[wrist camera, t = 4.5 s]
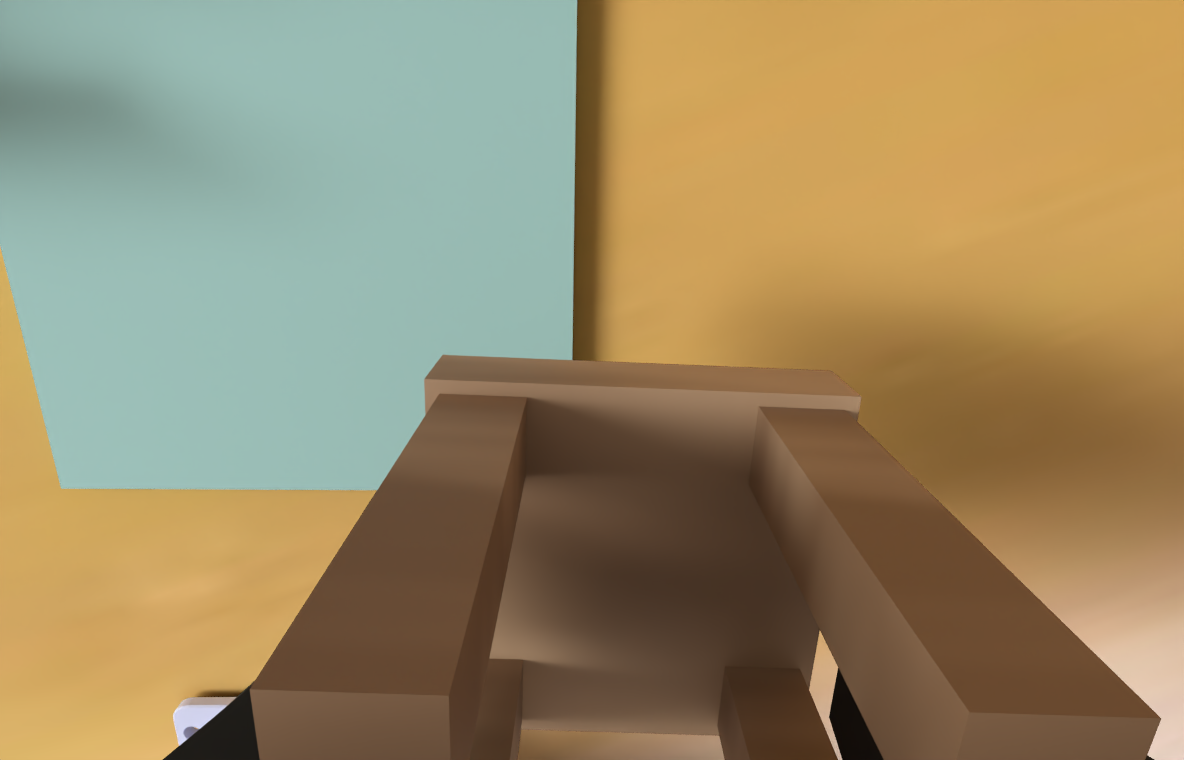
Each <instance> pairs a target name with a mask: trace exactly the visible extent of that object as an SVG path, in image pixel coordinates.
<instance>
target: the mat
mask: <svg viewBox="0 0 1184 760" xmlns="http://www.w3.org/2000/svg"><path fill="white" fill-rule="evenodd" d="M576 48H577V0H0V247H1V251H2V255H3V259H4V263H5V267H6V271H7V275H8V279H9V283H10V286H11V290H12V294H13V298H14V302H15V306H16V310H17V314H18V318H19V322H20V326H21V330H22V334H23V338H24V342H25V346H26V350H27V354H28V358H29V362H30V366H31V370H32V374H33V378H34V382H35V386H36V390H37V394H38V398H39V402H40V406H41V410H42V414H43V418H44V422H45V426H46V430H47V434H48V438H49V442H50V446H51V450H52V454H53V458H54V462H55V466H56V470H57V474H58V478H59V482H60V486H61V489H259V490H378V488H379V487H380V485H381V484H382V482H383V481H384V479H385V477H386V476H387V474H388V473H389V471H390V470H391V468H392V467H393V465H394V463H395V462H396V460H397V459H398V457H399V456H400V454H401V453H402V451H403V449H404V448H405V446H406V445H407V443H408V442H409V440H410V438H411V437H412V435H413V434H414V432H415V431H416V429H417V428H418V426H419V424H420V423H421V421H422V420H423V418H424V417H425V390H424V379H425V377H426V376H427V375H428V373H429V372H430V371H431V369H432V368H433V367H434V365H435V364H436V363H437V361H438V360H439V359H440V357H441V356H442V355H460V356H484V357H508V358H533V359H557V360H572V346H573V271H574V197H575V122H576Z"/></svg>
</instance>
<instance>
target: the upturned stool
mask: <svg viewBox="0 0 1184 760" xmlns="http://www.w3.org/2000/svg"><path fill="white" fill-rule="evenodd" d="M424 390H425V417H424V418H423V420H422V421H421V423H420V424H419V426H418V428H417V429H416V431H415V432H414V434H413V435H412V437H411V438H410V440H409V442H408V443H407V445H406V446H405V448H404V449H403V451H402V453H401V454H400V456H399V457H398V459H397V460H396V462H395V463H394V465H393V467H392V468H391V470H390V471H389V473H388V474H387V476H386V477H385V479H384V481H383V482H382V484H381V485H380V487H379V488H378V490H377V492H376V493H375V495H374V496H373V498H372V499H371V501H370V502H369V504H368V506H367V507H366V509H365V510H364V512H363V513H362V515H361V516H360V518H359V520H358V521H357V523H356V524H355V526H354V527H353V529H352V531H351V532H350V534H349V535H348V537H347V538H346V540H345V541H344V543H343V545H342V546H341V548H340V549H339V551H338V552H337V554H336V555H335V557H334V559H333V560H332V562H331V563H330V565H329V566H328V568H327V569H326V571H325V573H324V574H323V576H322V577H321V579H320V580H319V582H318V584H317V585H316V587H315V588H314V590H313V591H312V593H311V594H310V596H309V598H308V599H307V601H306V602H305V604H304V605H303V607H302V608H301V610H300V612H299V613H298V615H297V616H296V618H295V619H294V621H293V623H292V624H291V626H290V627H289V629H288V630H287V632H286V633H285V635H284V637H283V638H282V640H281V641H280V643H279V644H278V646H277V647H276V649H275V651H274V652H273V654H272V655H271V657H270V658H269V660H268V662H267V663H266V665H265V666H264V668H263V669H262V671H261V672H260V674H259V676H258V677H257V679H256V680H255V682H254V683H253V685H252V686H251V688H250V696H251V703H252V710H253V717H254V724H255V731H256V738H257V745H258V752H259V759H260V760H517V759H518V751H519V742H520V734H521V729H526V730H558V731H590V732H622V733H654V734H686V735H718V736H720V740H721V745H722V749H723V754H724V758H725V760H838V759H837V756H836V754H835V752H834V749H833V747H832V744H831V742H830V740H829V737H828V735H827V732H826V730H825V728H824V725H823V723H822V720H821V718H820V716H819V713H818V711H817V708H816V706H815V703H814V701H813V699H812V696H811V694H810V691H809V686H810V681H811V675H812V669H813V664H814V658H815V653H816V647H817V642H818V636H819V631H821V633H822V635H823V637H824V639H825V641H826V643H827V645H828V647H829V649H830V651H831V653H832V655H833V657H834V659H835V661H836V663H837V666H838V668H839V670H840V672H841V674H842V676H843V678H844V680H845V682H846V684H847V686H848V688H849V690H850V692H851V694H852V696H853V698H854V700H855V702H856V704H857V706H858V708H859V710H860V712H861V714H862V716H863V718H864V720H865V722H866V724H867V727H868V729H869V731H870V733H871V735H872V737H873V739H874V741H875V743H876V745H877V747H878V749H879V751H880V753H881V755H882V757H883V759H884V760H1145V759H1146V756H1147V754H1148V751H1149V749H1150V746H1151V744H1152V741H1153V738H1154V736H1155V733H1156V731H1157V728H1158V726H1159V723H1160V720H1161V718H1160V717H1159V716H1158V715H1157V714H1156V713H1155V712H1154V711H1153V710H1152V709H1151V708H1150V707H1149V706H1148V705H1147V704H1146V703H1145V702H1144V701H1143V700H1142V699H1141V698H1140V697H1139V696H1138V695H1137V694H1136V693H1135V692H1134V691H1132V690H1131V689H1130V688H1129V687H1128V686H1127V685H1126V684H1125V683H1124V682H1123V681H1122V680H1121V679H1120V678H1119V677H1118V676H1117V675H1116V674H1115V673H1114V672H1113V671H1112V670H1111V669H1110V668H1109V667H1108V666H1107V665H1106V664H1105V663H1104V662H1103V661H1102V660H1101V659H1100V658H1099V657H1098V656H1097V655H1096V654H1095V653H1094V652H1093V651H1091V650H1090V649H1089V648H1088V647H1087V646H1086V645H1085V644H1084V643H1083V642H1082V641H1081V640H1080V639H1079V638H1078V637H1077V636H1076V635H1075V634H1074V633H1073V632H1072V631H1071V630H1070V629H1069V628H1068V627H1067V626H1066V625H1065V624H1064V623H1063V622H1062V621H1061V620H1060V619H1059V618H1058V617H1057V616H1056V615H1055V614H1054V613H1053V612H1052V611H1050V610H1049V609H1048V608H1047V607H1046V606H1045V605H1044V604H1043V603H1042V602H1041V601H1040V600H1039V599H1038V598H1037V597H1036V596H1035V595H1034V594H1033V593H1032V592H1031V591H1030V590H1029V589H1028V588H1027V587H1026V586H1025V585H1024V584H1023V583H1022V582H1021V581H1020V580H1019V579H1018V578H1017V577H1016V576H1015V575H1014V574H1013V573H1012V572H1011V571H1009V570H1008V569H1007V568H1006V567H1005V566H1004V565H1003V564H1002V563H1001V562H1000V561H999V560H998V559H997V558H996V557H995V556H994V555H993V554H992V553H991V552H990V551H989V550H988V549H987V548H986V547H985V546H984V545H983V544H982V543H981V542H980V541H979V540H978V539H977V538H976V537H975V536H974V535H973V534H972V533H971V532H970V531H968V530H967V529H966V528H965V527H964V526H963V525H962V524H961V523H960V522H959V521H958V520H957V519H956V518H955V517H954V516H953V515H952V514H951V513H950V512H949V511H948V510H947V509H946V508H945V507H944V506H943V505H942V504H941V503H940V502H939V501H938V500H937V499H936V498H935V497H934V496H933V495H932V494H931V493H930V492H929V491H927V490H926V489H925V488H924V487H923V486H922V485H921V484H920V483H919V482H918V481H917V480H916V479H915V478H914V477H913V476H912V475H911V474H910V473H909V472H908V471H907V470H906V469H905V468H904V467H903V466H902V465H901V464H900V463H899V462H898V461H897V460H896V459H895V458H894V457H893V456H892V455H891V454H890V453H889V452H888V451H886V450H885V449H884V448H883V447H882V446H881V445H880V444H879V443H878V442H877V441H876V440H875V439H874V438H873V437H872V436H871V435H870V434H869V433H868V432H867V431H866V430H865V429H864V428H863V427H862V426H861V425H860V424H859V423H858V422H857V419H858V414H859V408H860V403H861V396H860V395H859V394H858V393H857V392H855V391H854V390H853V389H852V388H851V387H850V386H849V385H847V384H846V383H845V382H844V381H843V380H842V379H840V378H839V377H838V376H837V375H836V374H835V373H834V372H832V371H825V370H801V369H776V368H752V367H728V366H703V365H679V364H655V363H630V362H606V361H581V360H557V359H533V358H508V357H484V356H460V355H442V356H441V357H440V359H439V360H438V361H437V363H436V364H435V365H434V367H433V368H432V369H431V371H430V372H429V373H428V375H427V376H426V377H425V379H424Z"/></svg>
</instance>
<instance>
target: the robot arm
mask: <svg viewBox="0 0 1184 760" xmlns="http://www.w3.org/2000/svg"><path fill="white" fill-rule="evenodd" d="M254 682H255V681H254ZM254 682H253V683H254ZM253 683H252V684H251V685H250V686H249V687H247V688H246V689H245V690H244V691H243V692H242V693H241V694H240V695H239V696H237V697H192V698H187V699H185V700H183V701H182V702H181V703H180V705H179V706H178V708H177V709H176V711H175V712H174V714H173V720H174V724H175V729H176V734H177V738H178V743H179V747H177V748H176V749H175V750H174V751H173V752H171V753H170V754H169V755H168V756H167V757H165V758H164V759H163V760H260V759H259V752H258V745H257V738H256V731H255V724H254V717H253V710H252V703H251V696H250V688H251V686H252V685H253ZM829 718H830V721H831V724H832V728H833V731H834V734H835V737H836V740H837V743H838V747H839V750H840V753H841V756H842V759H843V760H884V759H883V757H882V755H881V753H880V751H879V749H878V747H877V745H876V743H875V741H874V739H873V737H872V735H871V733H870V731H869V729H868V727H867V724H866V722H865V720H864V718H863V716H862V714H861V712H860V710H859V708H858V706H857V704H856V702H855V700H854V698H853V696H852V694H851V692H850V690H849V688H848V686H847V684H846V682H845V680H844V678H843V676H842V674H841V672H840V670H839V668H838V672H837V677H836V683H835V688H834V694H833V699H832V704H831V710H830V715H829ZM194 727H196V728H198V729H196V728H194ZM1145 760H1154V759H1152V758H1151V757H1149V756H1148V755H1147V756H1146V759H1145Z"/></svg>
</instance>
